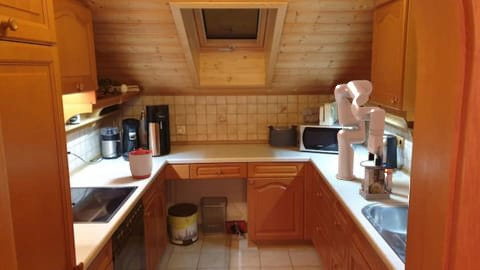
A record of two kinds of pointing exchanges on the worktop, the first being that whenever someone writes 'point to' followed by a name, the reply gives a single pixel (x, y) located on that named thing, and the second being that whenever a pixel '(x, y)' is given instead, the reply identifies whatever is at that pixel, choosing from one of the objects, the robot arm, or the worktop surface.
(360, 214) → the worktop surface
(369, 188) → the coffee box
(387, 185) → the lock pin
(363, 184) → the mount block
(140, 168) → the citrus juicer
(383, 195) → the dock cradle
